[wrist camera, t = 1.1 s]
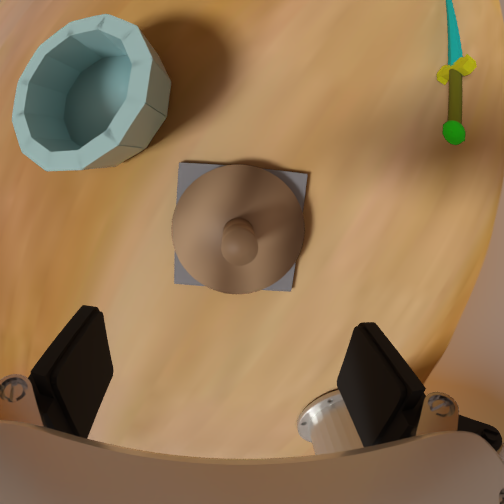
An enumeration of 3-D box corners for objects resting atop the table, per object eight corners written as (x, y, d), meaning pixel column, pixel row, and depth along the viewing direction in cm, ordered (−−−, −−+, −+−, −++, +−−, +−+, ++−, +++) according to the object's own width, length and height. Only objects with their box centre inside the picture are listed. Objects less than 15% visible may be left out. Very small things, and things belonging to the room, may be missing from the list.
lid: (309, 172, 27) (330, 175, 21) (292, 293, 30) (305, 322, 24) (177, 160, 25) (162, 159, 20) (172, 285, 29) (160, 313, 23)
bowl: (180, 42, 22) (164, 6, 15) (164, 167, 26) (139, 169, 18) (68, 55, 21) (30, 34, 13) (54, 168, 25) (8, 174, 17)
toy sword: (465, 133, 19) (447, -35, 15) (427, 142, 25) (427, -18, 21) (481, 145, 20) (461, -25, 16) (443, 151, 26) (440, -9, 22)
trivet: (305, 173, 27) (307, 174, 27) (289, 289, 31) (291, 291, 30) (180, 162, 26) (179, 162, 25) (175, 281, 30) (174, 283, 29)
